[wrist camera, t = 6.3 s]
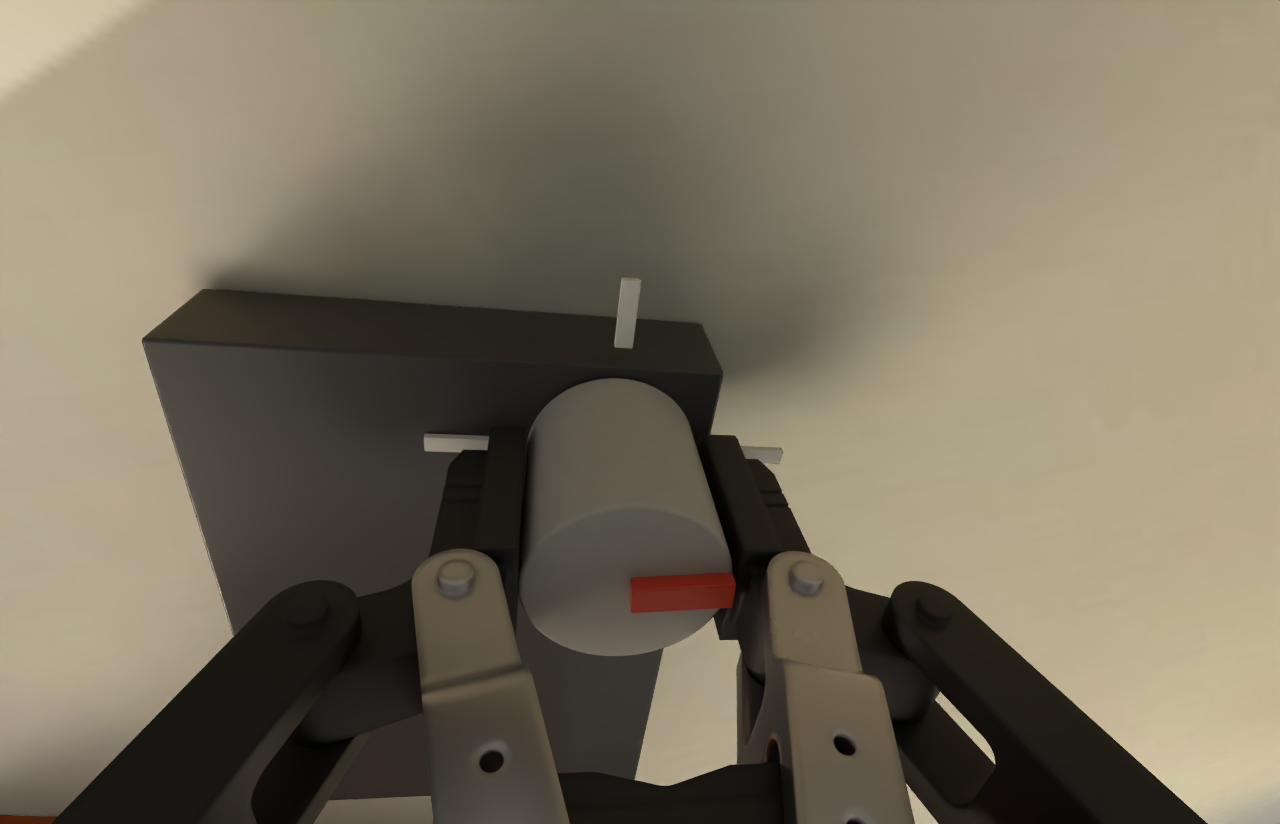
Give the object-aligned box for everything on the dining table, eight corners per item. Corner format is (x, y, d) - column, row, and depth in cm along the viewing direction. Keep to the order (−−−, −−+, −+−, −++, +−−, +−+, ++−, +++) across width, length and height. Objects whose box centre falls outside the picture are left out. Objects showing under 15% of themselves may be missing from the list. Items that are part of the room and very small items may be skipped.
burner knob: (530, 514, 15) (522, 679, 11) (522, 377, 13) (510, 523, 9) (684, 508, 15) (724, 666, 12) (699, 375, 13) (752, 514, 10)
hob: (180, 197, 13) (100, 237, 11) (788, 251, 15) (829, 296, 13) (309, 727, 22) (282, 808, 20) (671, 716, 24) (683, 789, 22)
